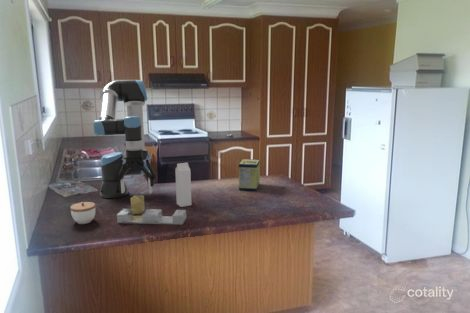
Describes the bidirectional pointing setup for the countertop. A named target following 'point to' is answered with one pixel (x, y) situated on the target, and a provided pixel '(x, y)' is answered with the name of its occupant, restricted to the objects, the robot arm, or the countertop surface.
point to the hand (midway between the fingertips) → (136, 192)
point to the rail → (151, 217)
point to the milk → (183, 184)
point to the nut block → (137, 204)
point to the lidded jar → (83, 212)
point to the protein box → (249, 174)
